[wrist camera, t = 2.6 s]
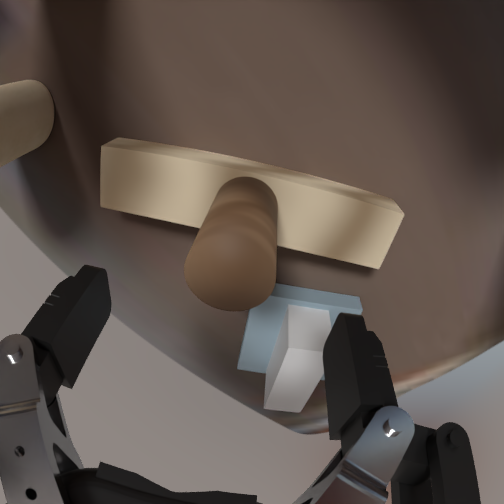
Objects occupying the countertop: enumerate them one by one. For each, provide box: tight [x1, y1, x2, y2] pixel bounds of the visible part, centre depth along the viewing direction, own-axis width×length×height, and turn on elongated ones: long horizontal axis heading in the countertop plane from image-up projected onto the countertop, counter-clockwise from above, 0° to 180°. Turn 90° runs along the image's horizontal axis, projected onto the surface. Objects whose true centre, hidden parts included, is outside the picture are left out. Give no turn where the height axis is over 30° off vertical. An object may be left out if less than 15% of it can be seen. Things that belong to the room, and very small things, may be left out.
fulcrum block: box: [237, 283, 363, 413], centre depth 23 cm, size 8×9×6 cm
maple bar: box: [100, 137, 404, 311], centre depth 16 cm, size 18×4×9 cm, turn 78°
